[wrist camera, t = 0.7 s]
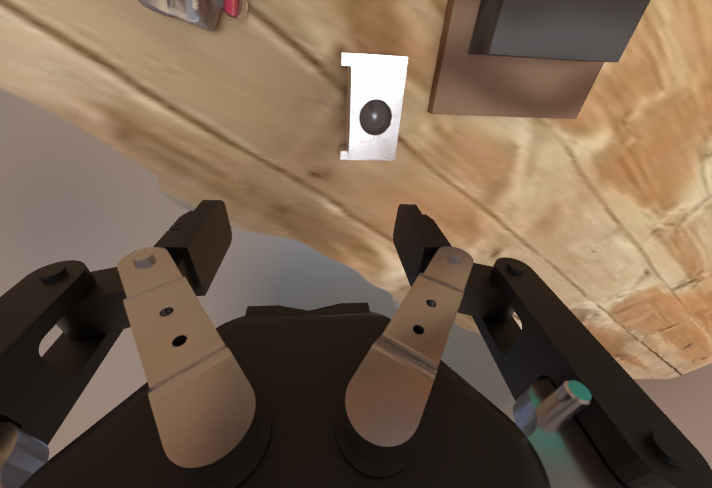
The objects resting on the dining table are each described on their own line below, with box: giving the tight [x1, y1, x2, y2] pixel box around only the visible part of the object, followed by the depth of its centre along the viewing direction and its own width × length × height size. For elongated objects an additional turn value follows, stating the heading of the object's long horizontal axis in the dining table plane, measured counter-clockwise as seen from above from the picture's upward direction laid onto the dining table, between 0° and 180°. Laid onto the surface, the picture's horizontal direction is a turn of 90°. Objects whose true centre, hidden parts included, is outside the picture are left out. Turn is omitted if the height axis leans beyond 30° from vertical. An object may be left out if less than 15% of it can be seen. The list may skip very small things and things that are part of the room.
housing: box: [339, 53, 408, 161], centre depth 27 cm, size 10×6×5 cm, turn 177°
